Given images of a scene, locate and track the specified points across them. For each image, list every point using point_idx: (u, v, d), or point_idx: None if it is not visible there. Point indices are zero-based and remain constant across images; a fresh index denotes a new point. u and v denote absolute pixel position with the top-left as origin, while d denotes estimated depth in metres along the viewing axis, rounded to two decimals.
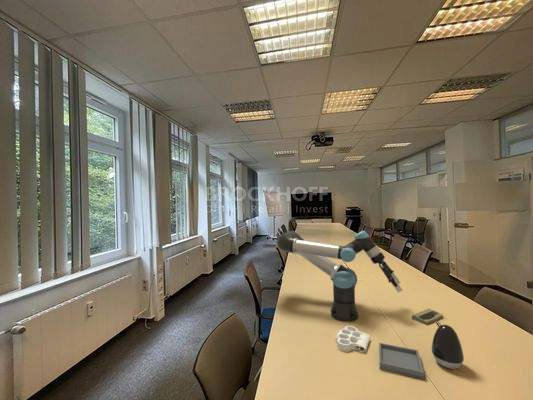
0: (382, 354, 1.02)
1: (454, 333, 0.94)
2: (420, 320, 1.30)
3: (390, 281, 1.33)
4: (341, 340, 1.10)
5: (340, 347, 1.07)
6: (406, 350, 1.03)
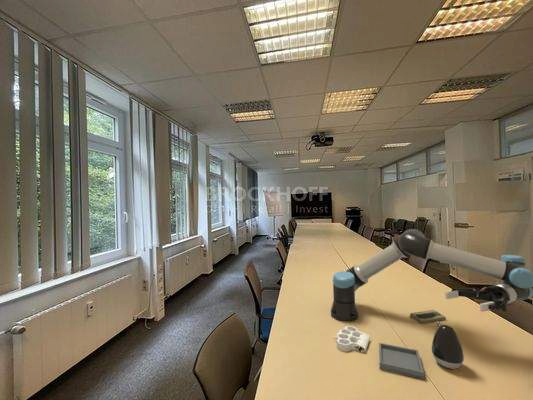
0: (382, 354, 1.02)
1: (454, 333, 0.94)
2: (416, 318, 1.32)
3: (503, 305, 0.93)
4: (341, 340, 1.11)
5: (340, 347, 1.07)
6: (406, 350, 1.03)
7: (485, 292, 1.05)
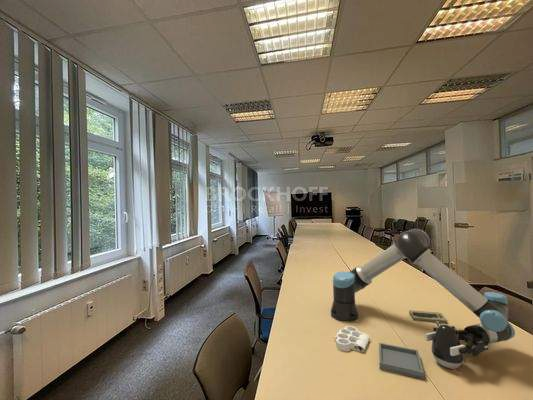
0: (382, 354, 1.02)
1: (454, 333, 0.94)
2: (411, 315, 1.35)
3: (474, 350, 0.90)
4: (340, 340, 1.11)
5: (339, 346, 1.08)
6: (406, 350, 1.03)
7: (465, 333, 1.01)
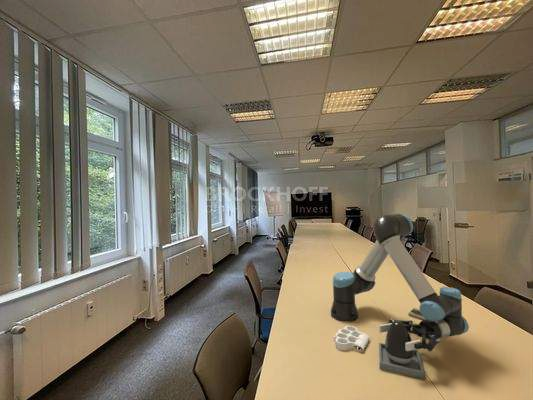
0: (382, 354, 1.02)
1: (405, 329, 0.96)
2: None
3: (428, 345, 0.90)
4: (339, 339, 1.11)
5: (338, 346, 1.08)
6: None
7: (419, 327, 1.02)
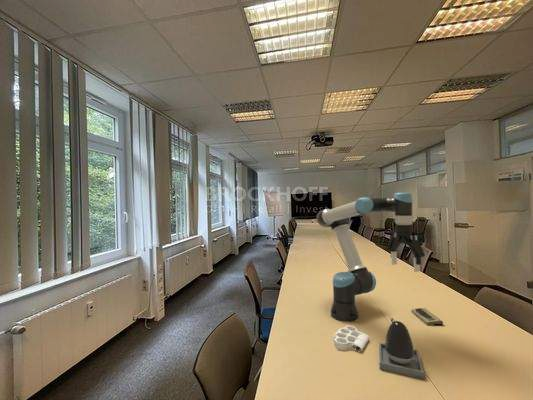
0: (382, 354, 1.02)
1: (405, 329, 0.96)
2: None
3: (420, 256, 1.11)
4: (338, 339, 1.12)
5: (336, 345, 1.08)
6: None
7: (400, 238, 1.21)
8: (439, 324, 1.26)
